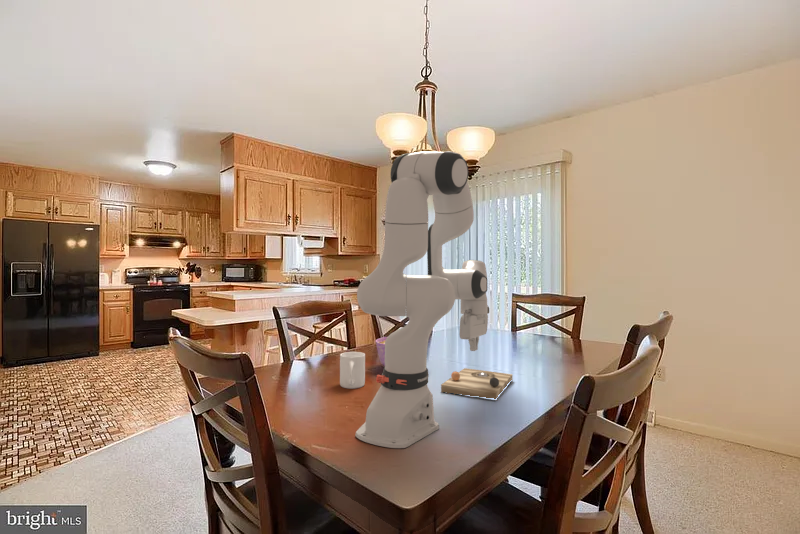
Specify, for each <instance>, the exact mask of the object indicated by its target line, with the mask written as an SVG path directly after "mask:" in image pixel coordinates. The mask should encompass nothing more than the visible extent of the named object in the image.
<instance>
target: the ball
mask: <svg viewBox="0 0 800 534" xmlns="http://www.w3.org/2000/svg"><path fill="white" fill-rule="evenodd" d="M478 376H481V377H488V375H487V374H486V373H484V372H481V373H480V374H479V375H478Z"/></svg>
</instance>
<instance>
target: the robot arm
mask: <svg viewBox="0 0 800 534" xmlns="http://www.w3.org/2000/svg"><path fill="white" fill-rule="evenodd" d="M468 177H469V165H468V163H467V161H466V159H465V158H464V157H463V155H461V154H460V153H459V152H456V151H455V152H454V151H449V150H448V151H447V150H446V151H429V150H427V151H425V150H424V151H419V152H418V151H417V152H412V153H411V152H408V153H404V154H401V155H399V156H397V157H395V159H394V161H393V163H392V165H391V168H390V182H391V183H390V185H389V187H388V190H387V195H386V201H385V210H384V240H383V241H384V243H383V244H384V245H383V251H382V255H381V258H380V260H379V262H378V264H377V266H376V267H375V268H374V270H373V271H372V272H371V273H369V274H368V275H367V276H365V277H364V278H363V279H362V280H361V282H360V283H359V285H358V287H357V290H356V300H357V303H358V305H359V308H360V310H361V311H362V312H363V313H365V314H369V315H372V316H379V317H406V318H408V319H409V320H408V322H407V324H406V325H404V326H403V327H401V328H399V329H397V330H394V331H393V332H392V333H390V334H389V335H388V336H386V337H387V339H386V341H385V366H384V367H383V371H382V373H381V374H377V375H376V377H375V378H376V379H375V381H376V383H377V384H380V387H379V388H378V390H377V392H376V394H375V395H374V396H373V399H372V400H371V402H370V404H369V406H368V408H367V409H366V415H365V422H364V423H363V424H362V425H360V427H359V428H358V429H357V430H356V431H355V437H356V438H357V439H358V440H360V441H361V442H365V443H367V444H371V445H375V446H379V447H385V448H391V449H405V448H408V447H410V446H411V445H413V444H415V443H416V442H418V441H420V440H422V439H423V438H425V437H427V436H429V435H430V434H433V433H434V432H435V431H437V430H439V429H440V425H439V424H440V423H438V422H437V421H436V420H435V411H434V408H435V407H434V397H433V393H432V392H431V390H430V388H429V387H428V383H429V377H430V376H429V369H428V368H427V357H428V346H429V345H428V344H429V339H430V336H431V334H432V331H433V329H434V328H435V326H436V324H437V323H438V322H439V321H440V320H441V319H442V318H444V316H446V315H448V313H449V312H450V311H451V310H452V309H453V307H454V304H455V301H456V300H460V314H461V316H460V320H459V334H458V335H459V338H460V339H461V340H468V344H469V350H470V351H471V352H476V351H477V350H478V349H479V347H478V345H479V341H480V337H482V336H484V335H486V334H487V331H488V325H489V322H488V321H489V315H488V314H490V307H489V305H488V296H487V292H488V274H487V267H486V264H485V262H484V261H482V260H478V259H469V260H468V259H467V260H465V261H463V262H462V267H461V268H460V269H446V268H444V267H443V245H445V244H446V243H448V242H450V241H453V240H455V239H457V238H459V237H462V236H463V235H464V234H465V233H466V232H467V231H469V229H470V228H471V227H472V225H473V223H474V218H475V217H474V206H473V200H472V199H473V198H472V194H471V190H470V186H469V182H468V179H469V178H468ZM429 196H432V202H433V203H432V204H433V209H434V221H433V223H432V224H430V226H429V205H428V204H429V203H428V198H429ZM425 255H427V256H426V257H427V274H404V270H405V269H406V267H407V266H409V265H411V264H413V263H415V262H419V260H421V259H422V258H423V257H425Z"/></svg>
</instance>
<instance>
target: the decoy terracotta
mask: <svg viewBox="0 0 800 534" xmlns="http://www.w3.org/2000/svg"><path fill="white" fill-rule="evenodd" d="M458 372H459V371H457V370H456V371H453V372H452V373H451V374H450V375H451V376H450V378H451V377H452V379H453V380H459V378H460V374H459V373H458Z"/></svg>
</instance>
